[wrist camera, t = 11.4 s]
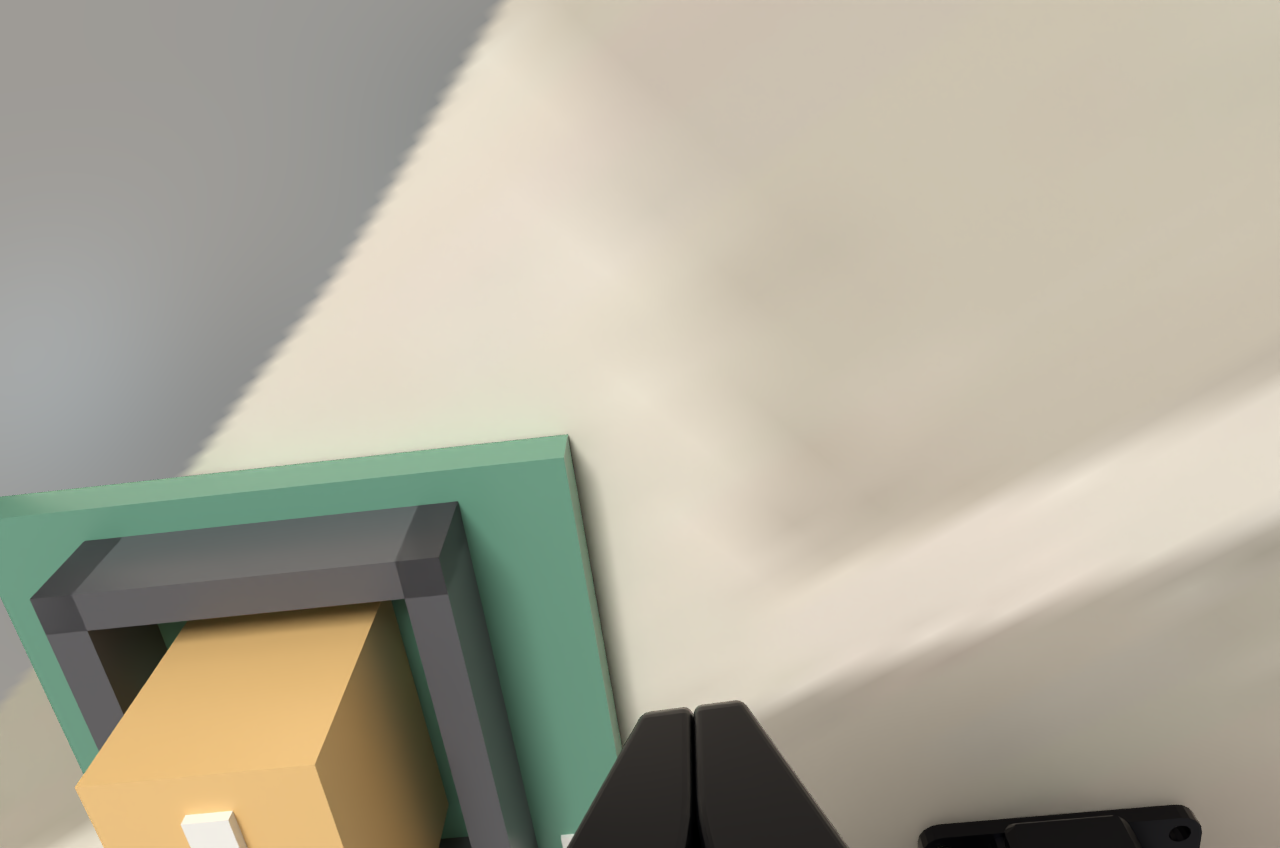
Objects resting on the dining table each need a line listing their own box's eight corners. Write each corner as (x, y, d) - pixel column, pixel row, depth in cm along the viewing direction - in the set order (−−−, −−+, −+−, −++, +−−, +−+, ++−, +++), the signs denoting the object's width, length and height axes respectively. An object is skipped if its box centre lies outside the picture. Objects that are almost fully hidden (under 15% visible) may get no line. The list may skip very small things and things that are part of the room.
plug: (448, 804, 23) (398, 1021, 19) (278, 820, 24) (186, 1038, 19) (387, 585, 21) (310, 774, 16) (197, 606, 21) (68, 796, 17)
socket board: (637, 836, 25) (635, 944, 23) (164, 876, 26) (108, 985, 23) (567, 434, 21) (555, 510, 18) (-6, 497, 21) (-102, 579, 19)
